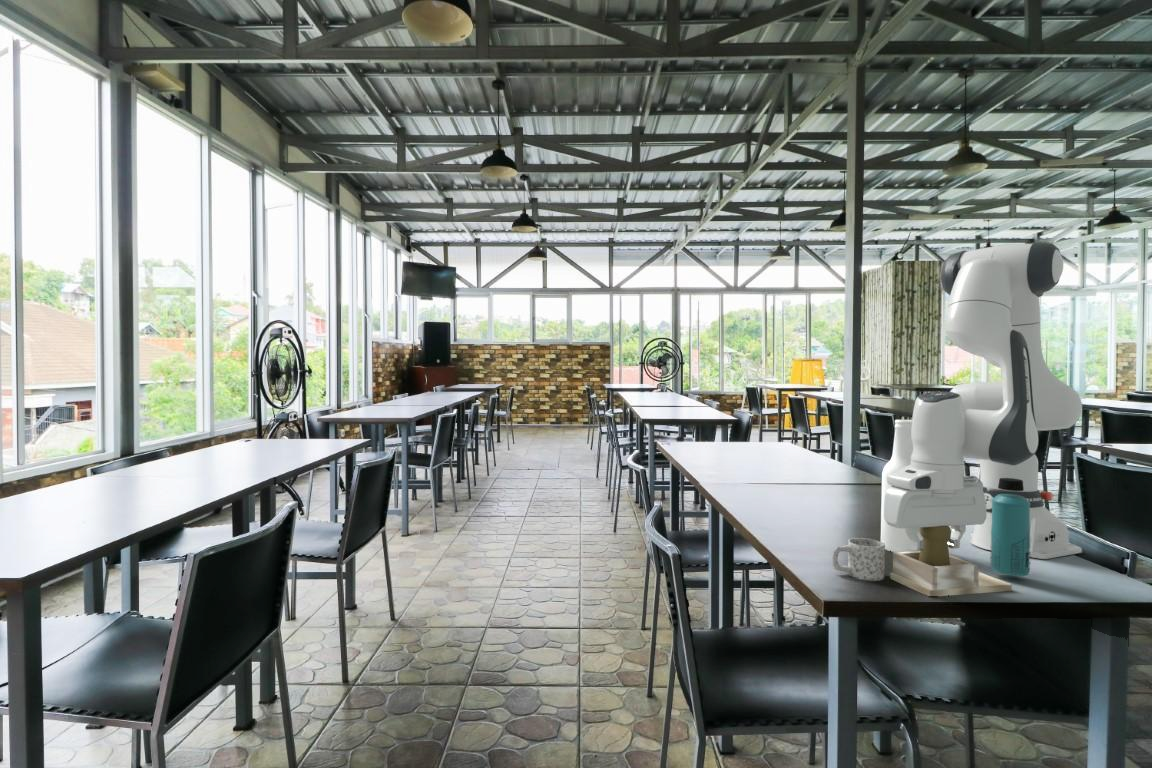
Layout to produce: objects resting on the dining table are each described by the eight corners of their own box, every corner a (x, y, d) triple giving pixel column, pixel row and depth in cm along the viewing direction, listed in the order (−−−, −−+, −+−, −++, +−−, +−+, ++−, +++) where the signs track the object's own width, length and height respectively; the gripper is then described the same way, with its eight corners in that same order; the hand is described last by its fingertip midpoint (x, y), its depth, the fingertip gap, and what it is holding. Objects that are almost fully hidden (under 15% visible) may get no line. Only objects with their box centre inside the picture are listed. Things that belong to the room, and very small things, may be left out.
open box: (967, 573, 124) (967, 548, 124) (1011, 590, 114) (1012, 563, 114) (890, 578, 120) (891, 552, 120) (929, 597, 110) (930, 568, 110)
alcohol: (932, 554, 136) (935, 421, 136) (895, 555, 135) (898, 421, 135) (907, 543, 145) (910, 418, 144) (872, 544, 144) (875, 418, 143)
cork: (957, 586, 113) (959, 527, 112) (921, 583, 114) (923, 524, 114) (945, 575, 118) (947, 519, 118) (911, 572, 120) (913, 517, 120)
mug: (874, 570, 125) (875, 538, 125) (890, 581, 118) (891, 547, 118) (825, 569, 125) (826, 537, 125) (838, 580, 119) (839, 546, 119)
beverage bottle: (1031, 586, 116) (1034, 482, 116) (989, 579, 120) (992, 479, 120) (1028, 576, 122) (1030, 477, 122) (988, 570, 126) (990, 474, 125)
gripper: (968, 472, 121) (966, 541, 121) (879, 475, 117) (877, 546, 117) (996, 478, 115) (994, 550, 115) (903, 481, 111) (901, 556, 111)
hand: (935, 548), depth 116 cm, fingers open, 7 cm apart
